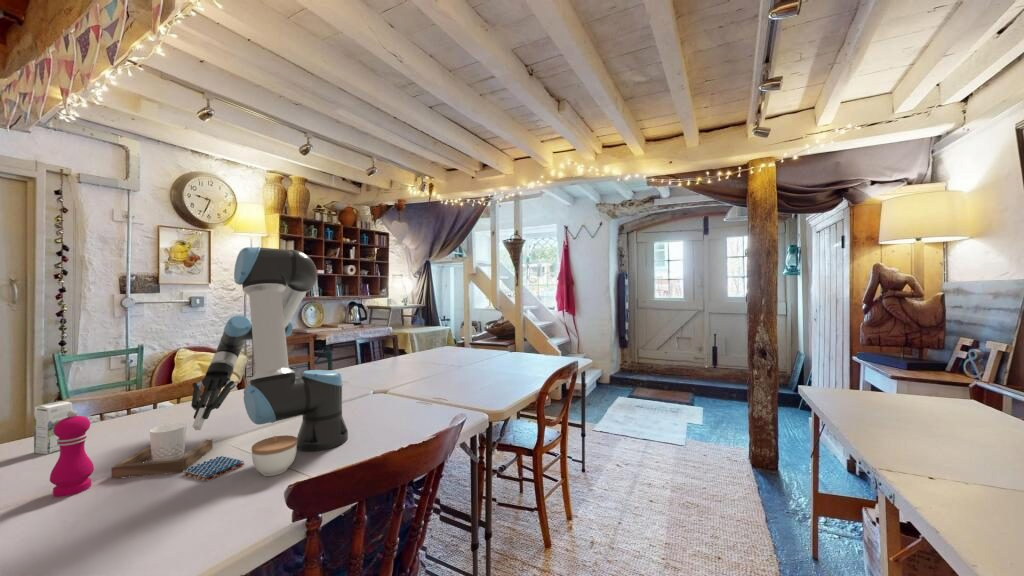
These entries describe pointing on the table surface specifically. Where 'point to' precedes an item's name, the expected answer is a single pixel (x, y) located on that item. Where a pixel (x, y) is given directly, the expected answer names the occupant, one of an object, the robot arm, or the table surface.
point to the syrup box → (48, 425)
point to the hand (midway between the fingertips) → (196, 428)
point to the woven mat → (213, 468)
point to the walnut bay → (158, 462)
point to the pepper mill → (71, 456)
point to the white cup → (168, 441)
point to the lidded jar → (274, 454)
